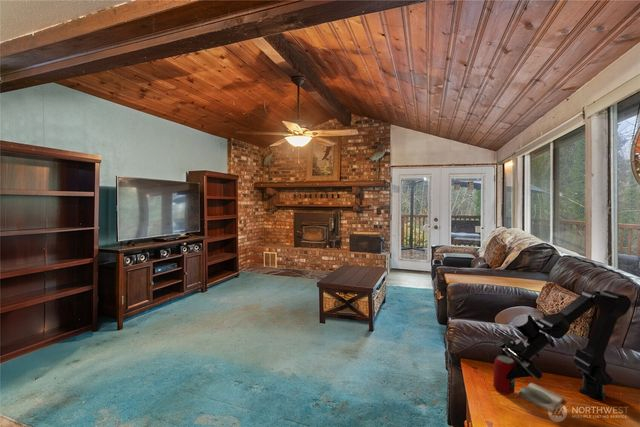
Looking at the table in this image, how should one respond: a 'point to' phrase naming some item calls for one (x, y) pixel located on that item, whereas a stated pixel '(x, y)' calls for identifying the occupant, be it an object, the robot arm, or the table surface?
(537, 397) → the birch board
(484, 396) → the table surface
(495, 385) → the beverage can
